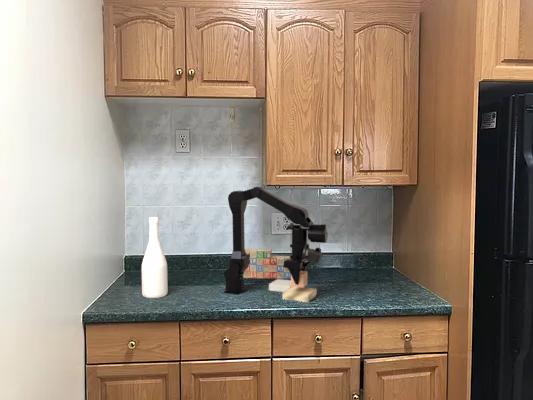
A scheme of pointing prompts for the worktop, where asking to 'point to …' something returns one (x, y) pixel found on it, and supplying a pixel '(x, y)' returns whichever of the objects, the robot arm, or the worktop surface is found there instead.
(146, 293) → the wine bottle
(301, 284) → the terracotta cube
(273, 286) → the white plastic slab
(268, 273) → the stack of blocks
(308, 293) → the birch slab
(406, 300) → the worktop surface
